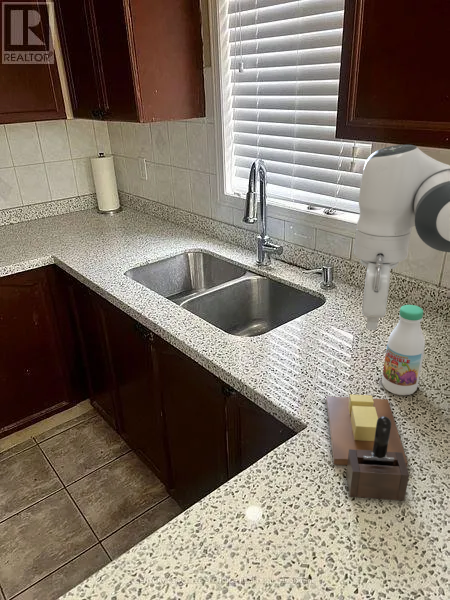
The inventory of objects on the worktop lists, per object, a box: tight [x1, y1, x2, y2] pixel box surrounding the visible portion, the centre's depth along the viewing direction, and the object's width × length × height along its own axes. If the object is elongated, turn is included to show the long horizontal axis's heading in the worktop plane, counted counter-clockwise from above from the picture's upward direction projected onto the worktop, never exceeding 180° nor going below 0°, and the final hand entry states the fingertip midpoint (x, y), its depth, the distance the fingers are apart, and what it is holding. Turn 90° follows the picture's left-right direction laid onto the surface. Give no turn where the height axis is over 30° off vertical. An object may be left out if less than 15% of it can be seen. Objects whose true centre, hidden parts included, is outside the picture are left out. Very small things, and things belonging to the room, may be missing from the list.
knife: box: [362, 416, 394, 466], centre depth 75 cm, size 5×2×16 cm, turn 83°
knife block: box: [345, 449, 410, 502], centre depth 77 cm, size 9×5×6 cm, turn 83°
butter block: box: [351, 406, 378, 441], centre depth 88 cm, size 4×6×4 cm
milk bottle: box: [381, 304, 426, 396], centre depth 98 cm, size 8×8×20 cm
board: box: [325, 395, 409, 467], centre depth 90 cm, size 13×18×2 cm
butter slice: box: [348, 393, 374, 414], centre depth 93 cm, size 4×2×4 cm, turn 83°
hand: (372, 315), depth 83 cm, fingers open, 8 cm apart
